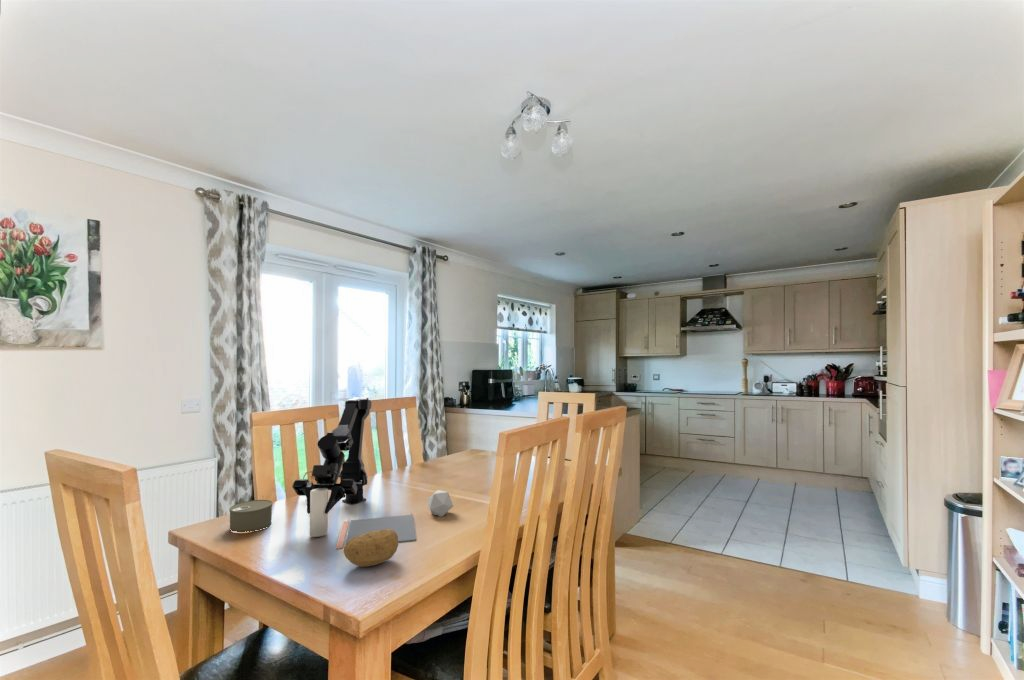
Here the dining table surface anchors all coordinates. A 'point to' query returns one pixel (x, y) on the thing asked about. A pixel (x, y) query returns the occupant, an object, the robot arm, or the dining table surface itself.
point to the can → (250, 515)
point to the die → (440, 503)
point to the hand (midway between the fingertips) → (317, 513)
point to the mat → (384, 527)
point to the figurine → (311, 476)
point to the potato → (371, 548)
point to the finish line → (342, 535)
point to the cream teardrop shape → (318, 512)
